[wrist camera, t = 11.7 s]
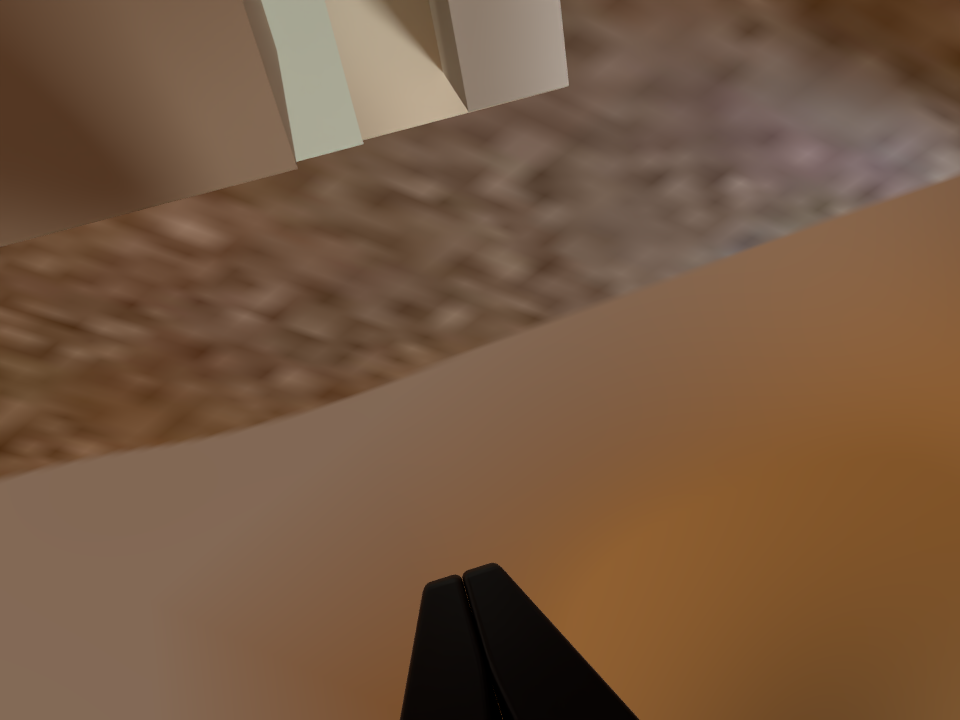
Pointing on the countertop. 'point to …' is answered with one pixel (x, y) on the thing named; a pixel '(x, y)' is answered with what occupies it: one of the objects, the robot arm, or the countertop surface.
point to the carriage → (158, 103)
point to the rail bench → (390, 66)
